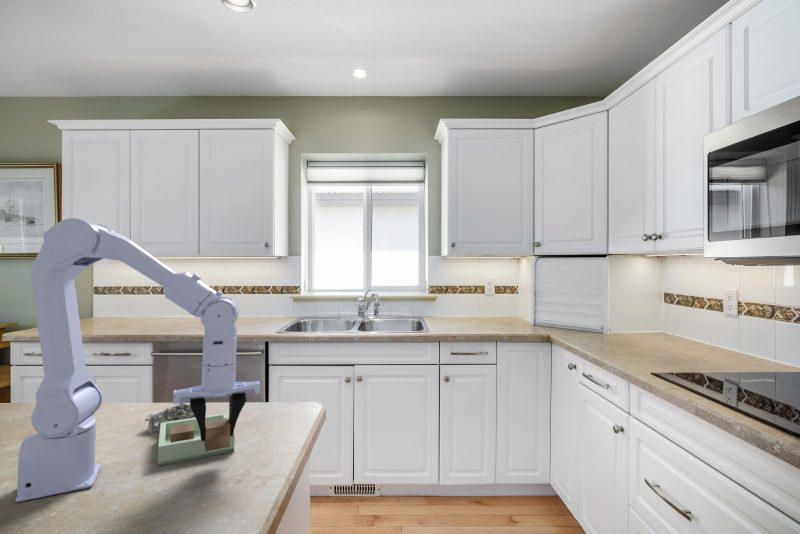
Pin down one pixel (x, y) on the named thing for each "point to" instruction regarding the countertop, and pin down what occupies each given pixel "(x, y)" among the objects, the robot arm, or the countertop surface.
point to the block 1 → (182, 433)
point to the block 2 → (217, 434)
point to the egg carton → (169, 416)
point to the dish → (186, 442)
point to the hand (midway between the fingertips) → (216, 436)
